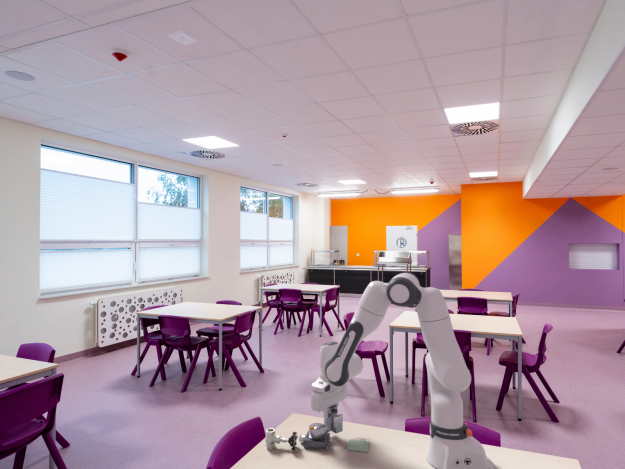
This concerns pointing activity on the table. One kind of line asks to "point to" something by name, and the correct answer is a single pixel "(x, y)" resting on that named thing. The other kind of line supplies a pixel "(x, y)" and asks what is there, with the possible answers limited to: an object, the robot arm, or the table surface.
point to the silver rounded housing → (325, 428)
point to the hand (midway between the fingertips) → (330, 415)
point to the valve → (279, 439)
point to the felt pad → (358, 445)
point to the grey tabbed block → (331, 416)
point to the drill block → (315, 442)
